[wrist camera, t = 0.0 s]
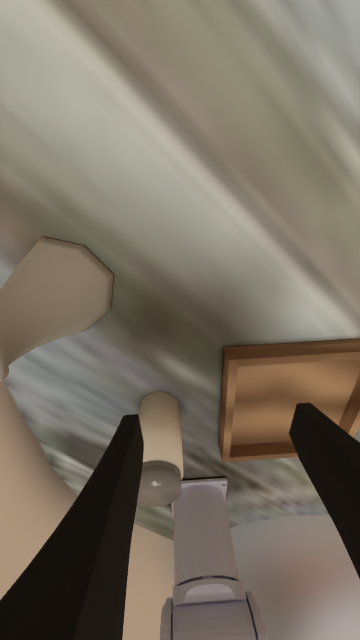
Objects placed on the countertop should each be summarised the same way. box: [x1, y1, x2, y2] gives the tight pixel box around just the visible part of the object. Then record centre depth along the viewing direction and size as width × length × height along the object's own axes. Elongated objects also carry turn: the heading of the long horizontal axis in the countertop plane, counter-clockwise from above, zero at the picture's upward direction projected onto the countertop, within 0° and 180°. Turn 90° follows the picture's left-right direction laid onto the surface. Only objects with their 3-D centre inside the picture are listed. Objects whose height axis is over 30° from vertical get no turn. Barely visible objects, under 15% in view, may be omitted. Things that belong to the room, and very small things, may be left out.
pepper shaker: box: [137, 392, 183, 506], centre depth 20 cm, size 4×4×8 cm
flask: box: [0, 237, 114, 382], centre depth 13 cm, size 7×7×10 cm
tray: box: [219, 339, 360, 462], centre depth 23 cm, size 15×15×2 cm
